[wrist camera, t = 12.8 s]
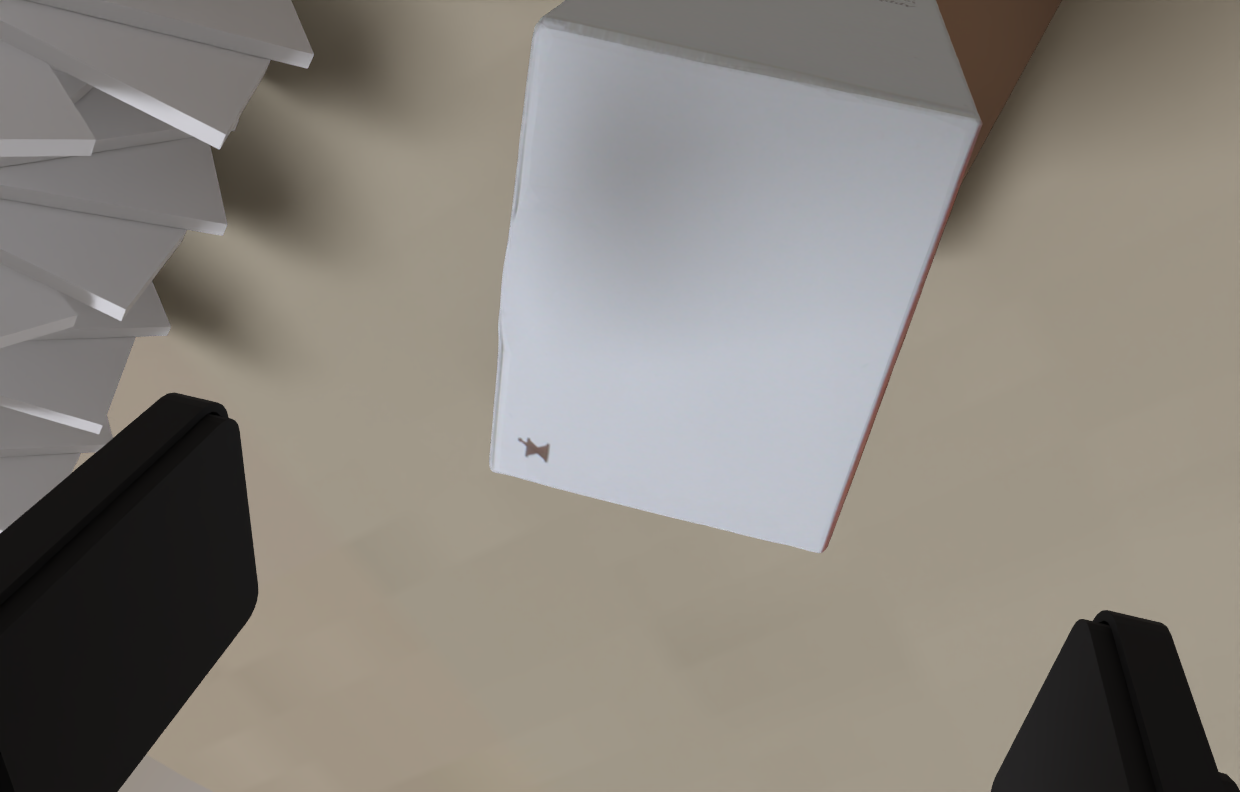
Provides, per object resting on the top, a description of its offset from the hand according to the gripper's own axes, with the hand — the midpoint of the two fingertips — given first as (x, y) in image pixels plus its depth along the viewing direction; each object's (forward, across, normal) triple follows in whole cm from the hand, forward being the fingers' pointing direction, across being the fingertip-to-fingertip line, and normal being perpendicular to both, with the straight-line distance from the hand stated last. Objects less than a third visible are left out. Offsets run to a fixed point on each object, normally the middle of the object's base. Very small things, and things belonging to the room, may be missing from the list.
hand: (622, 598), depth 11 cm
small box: (+19, 0, -1) cm, 19 cm away
